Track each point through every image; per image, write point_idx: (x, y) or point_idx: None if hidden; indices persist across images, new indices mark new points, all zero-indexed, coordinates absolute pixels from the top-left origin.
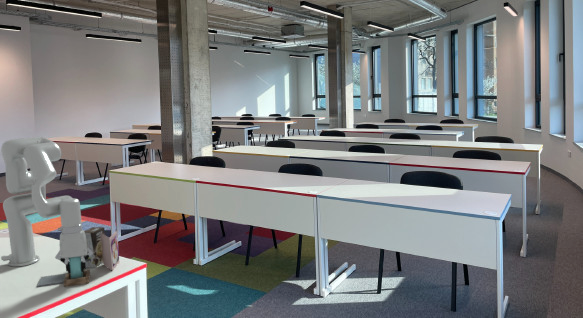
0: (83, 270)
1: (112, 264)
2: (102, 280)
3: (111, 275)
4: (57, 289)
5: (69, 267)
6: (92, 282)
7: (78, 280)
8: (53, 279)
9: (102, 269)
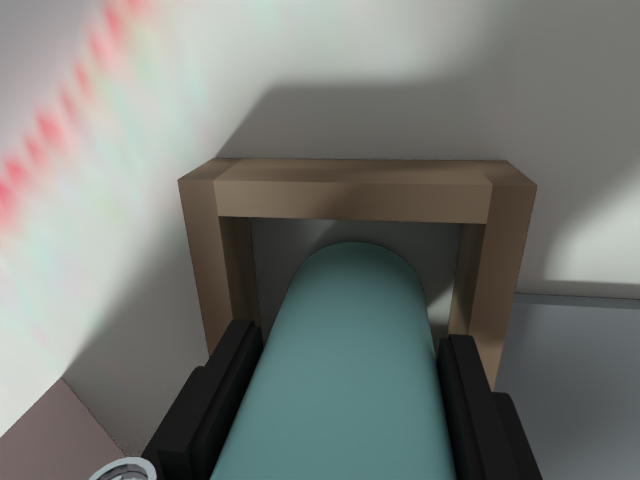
0: (227, 328)
1: (12, 441)
2: (75, 182)
3: (31, 284)
4: (608, 102)
5: (456, 430)
6: (173, 168)
7: (316, 175)
8: (617, 414)
9: None
